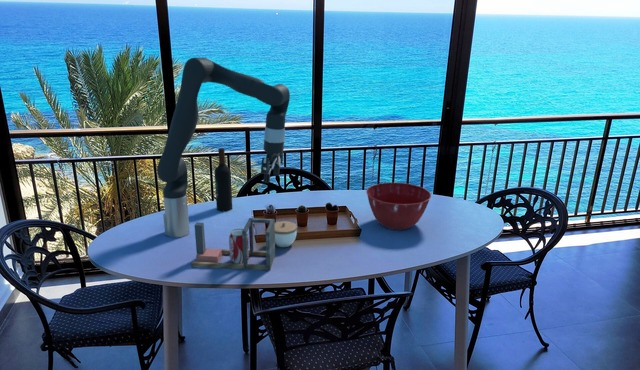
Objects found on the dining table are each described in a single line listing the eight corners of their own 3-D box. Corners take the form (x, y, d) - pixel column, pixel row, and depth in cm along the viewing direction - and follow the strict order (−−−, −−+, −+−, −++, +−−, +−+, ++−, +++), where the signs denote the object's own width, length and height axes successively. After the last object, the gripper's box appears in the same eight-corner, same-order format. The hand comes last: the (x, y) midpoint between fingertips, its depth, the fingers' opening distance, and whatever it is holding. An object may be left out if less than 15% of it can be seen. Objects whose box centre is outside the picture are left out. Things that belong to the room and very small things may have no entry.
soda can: (245, 266, 164) (244, 236, 160) (227, 264, 165) (225, 234, 161) (251, 257, 170) (250, 228, 167) (234, 255, 172) (233, 227, 168)
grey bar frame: (191, 266, 163) (188, 229, 158) (201, 251, 174) (198, 216, 170) (270, 270, 162) (269, 232, 157) (275, 254, 173) (274, 219, 168)
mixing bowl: (400, 243, 185) (403, 208, 180) (351, 222, 205) (353, 190, 200) (440, 225, 202) (444, 193, 197) (391, 208, 223) (393, 178, 218)
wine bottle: (224, 212, 213) (221, 151, 204) (213, 209, 217) (209, 149, 207) (235, 207, 219) (232, 148, 210) (224, 204, 223) (221, 146, 214)
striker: (195, 262, 166) (192, 227, 161) (200, 254, 171) (198, 220, 167) (217, 263, 165) (215, 228, 161) (222, 255, 171) (220, 221, 166)
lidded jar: (272, 237, 187) (272, 217, 185) (297, 238, 187) (297, 217, 184) (268, 249, 177) (268, 227, 174) (295, 250, 177) (295, 228, 174)
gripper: (273, 132, 174) (270, 171, 180) (256, 141, 161) (253, 182, 167) (291, 136, 172) (287, 175, 178) (275, 145, 159) (272, 187, 165)
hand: (271, 178), depth 173 cm, fingers open, 8 cm apart
